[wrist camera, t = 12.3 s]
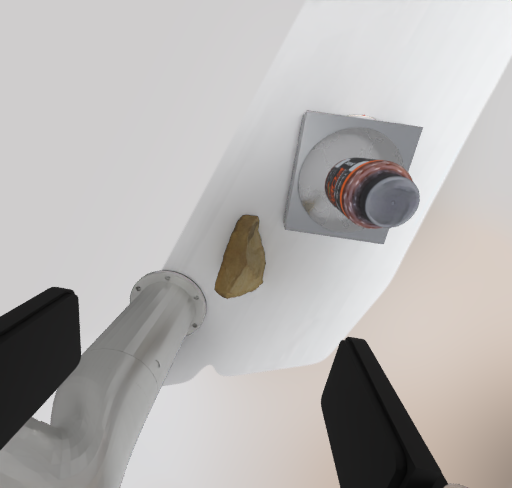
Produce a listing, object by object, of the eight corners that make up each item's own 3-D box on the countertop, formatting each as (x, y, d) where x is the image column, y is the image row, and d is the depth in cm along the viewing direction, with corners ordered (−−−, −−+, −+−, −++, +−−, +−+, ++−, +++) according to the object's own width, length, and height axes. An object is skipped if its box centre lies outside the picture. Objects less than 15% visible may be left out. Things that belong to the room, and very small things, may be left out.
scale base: (372, 234, 36) (383, 244, 33) (283, 221, 36) (285, 229, 33) (406, 126, 31) (424, 122, 28) (303, 111, 31) (308, 105, 28)
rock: (227, 200, 34) (193, 262, 35) (261, 227, 28) (219, 300, 29) (277, 224, 41) (247, 274, 43) (313, 250, 35) (276, 307, 37)
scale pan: (382, 236, 32) (385, 238, 31) (290, 222, 32) (290, 224, 31) (416, 136, 28) (420, 135, 27) (309, 120, 28) (311, 119, 27)
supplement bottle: (322, 160, 29) (353, 165, 18) (376, 154, 28) (440, 155, 17) (323, 211, 31) (352, 242, 20) (374, 206, 30) (430, 235, 19)
